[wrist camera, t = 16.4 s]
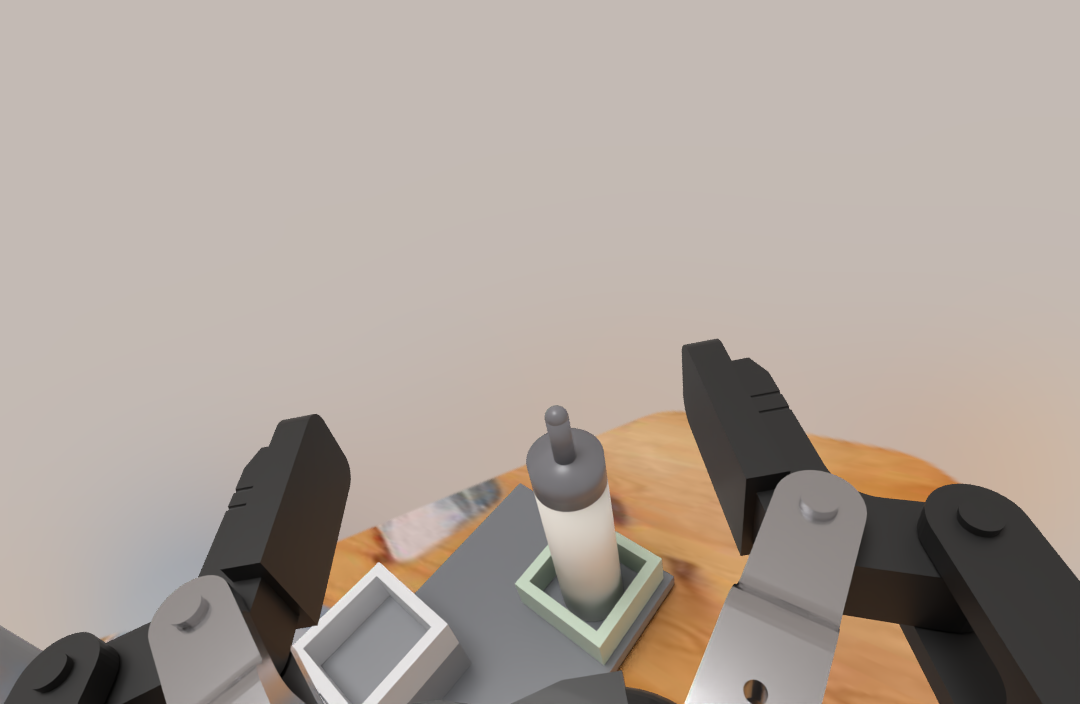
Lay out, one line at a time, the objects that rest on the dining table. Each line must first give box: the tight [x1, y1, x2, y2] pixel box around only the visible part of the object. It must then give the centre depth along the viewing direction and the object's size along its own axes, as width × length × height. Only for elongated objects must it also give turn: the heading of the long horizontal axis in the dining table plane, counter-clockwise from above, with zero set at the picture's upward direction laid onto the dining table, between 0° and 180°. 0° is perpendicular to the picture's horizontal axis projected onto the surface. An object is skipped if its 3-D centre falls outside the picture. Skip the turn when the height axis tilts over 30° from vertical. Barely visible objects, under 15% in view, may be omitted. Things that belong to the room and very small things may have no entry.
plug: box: [526, 405, 624, 622], centre depth 34 cm, size 4×4×18 cm
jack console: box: [293, 483, 674, 704], centre depth 37 cm, size 20×14×6 cm
